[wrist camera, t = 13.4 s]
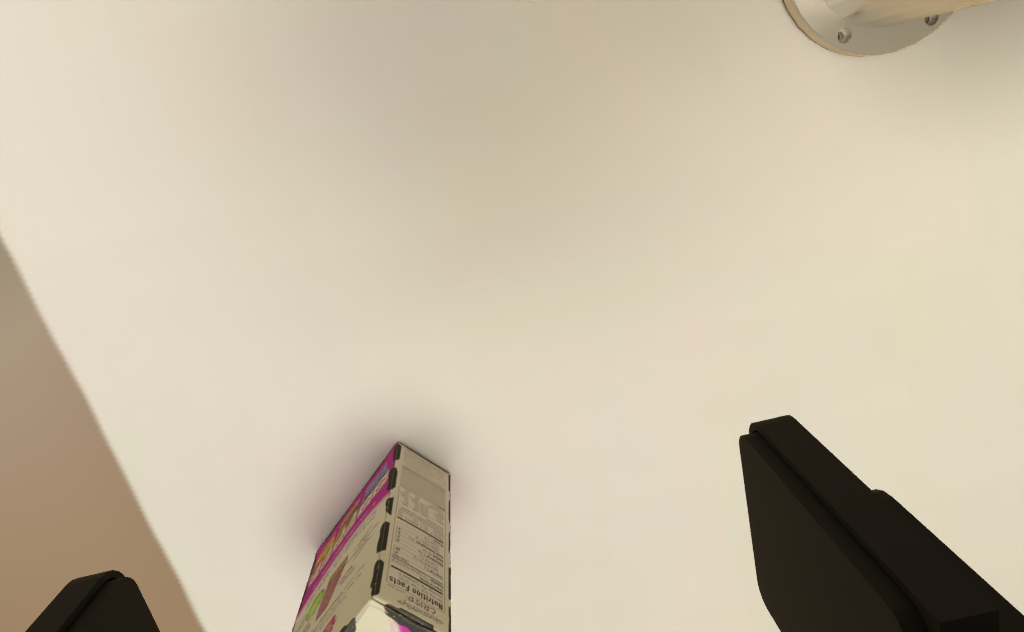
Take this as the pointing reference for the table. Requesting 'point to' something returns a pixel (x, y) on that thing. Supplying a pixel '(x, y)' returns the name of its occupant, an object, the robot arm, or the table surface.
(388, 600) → the candy bar box
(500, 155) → the table surface
